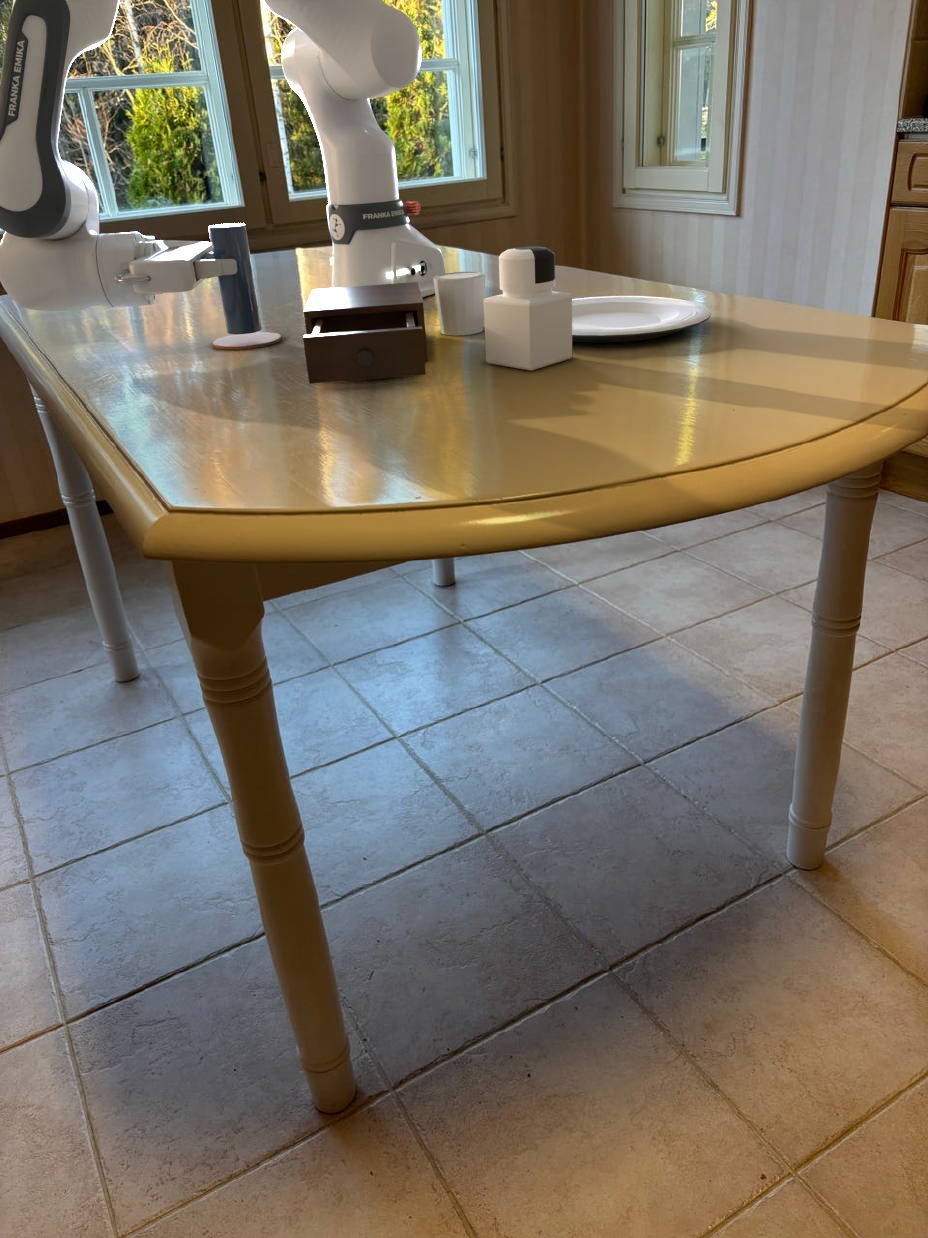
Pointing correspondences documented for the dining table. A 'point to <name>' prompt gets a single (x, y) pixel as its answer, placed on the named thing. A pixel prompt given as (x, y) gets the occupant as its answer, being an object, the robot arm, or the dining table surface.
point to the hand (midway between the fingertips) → (240, 262)
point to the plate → (632, 318)
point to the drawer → (364, 347)
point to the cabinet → (366, 303)
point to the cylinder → (236, 279)
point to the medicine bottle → (528, 312)
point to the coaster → (247, 340)
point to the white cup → (460, 302)
